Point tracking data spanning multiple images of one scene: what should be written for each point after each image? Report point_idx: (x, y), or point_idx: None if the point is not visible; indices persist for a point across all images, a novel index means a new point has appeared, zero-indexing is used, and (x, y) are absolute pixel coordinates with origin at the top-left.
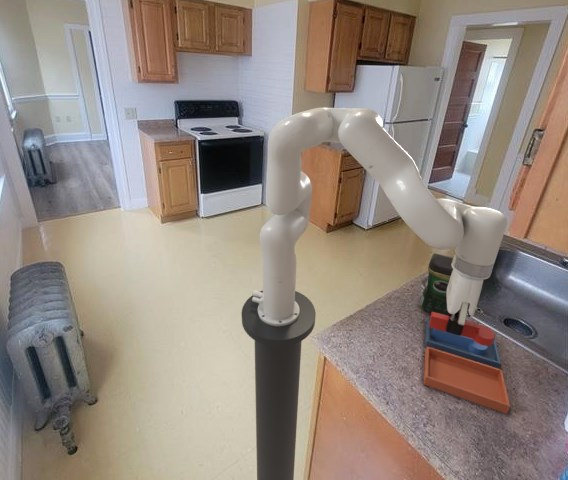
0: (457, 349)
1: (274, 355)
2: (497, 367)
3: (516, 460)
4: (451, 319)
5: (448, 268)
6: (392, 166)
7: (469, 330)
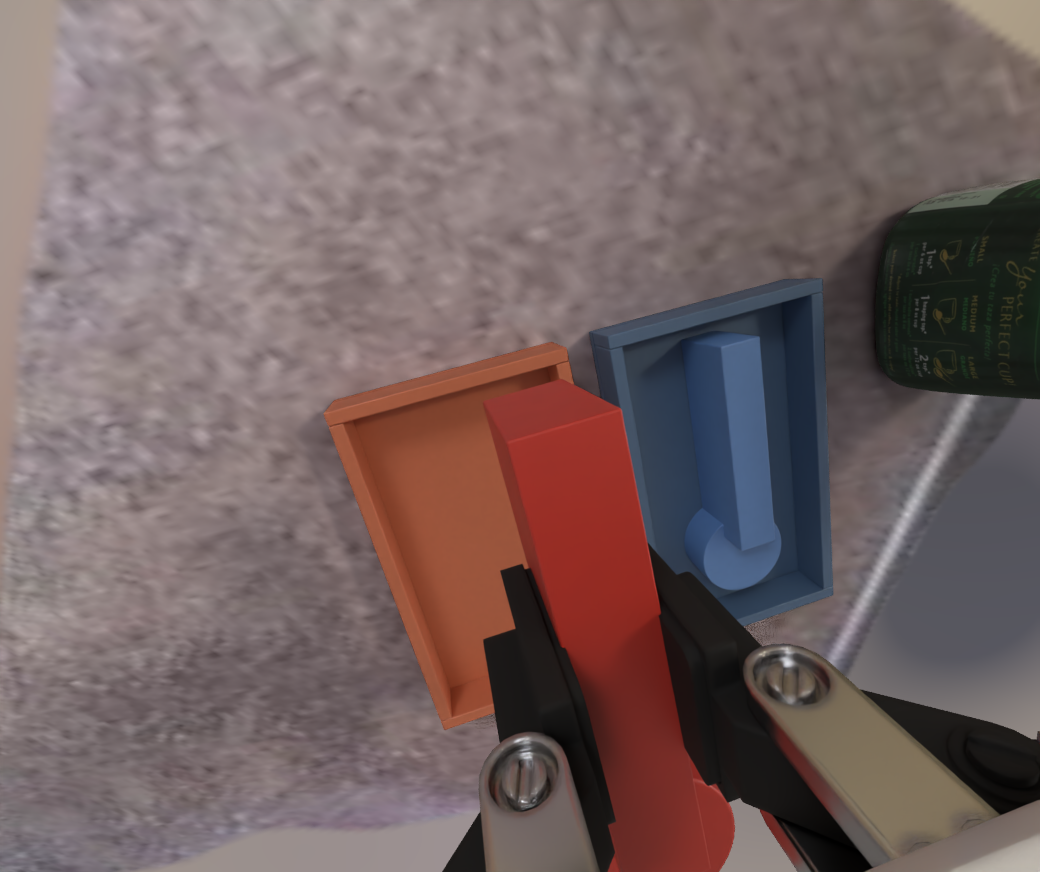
0: (642, 490)
1: None
2: None
3: (261, 753)
4: (479, 794)
5: None
6: None
7: None
